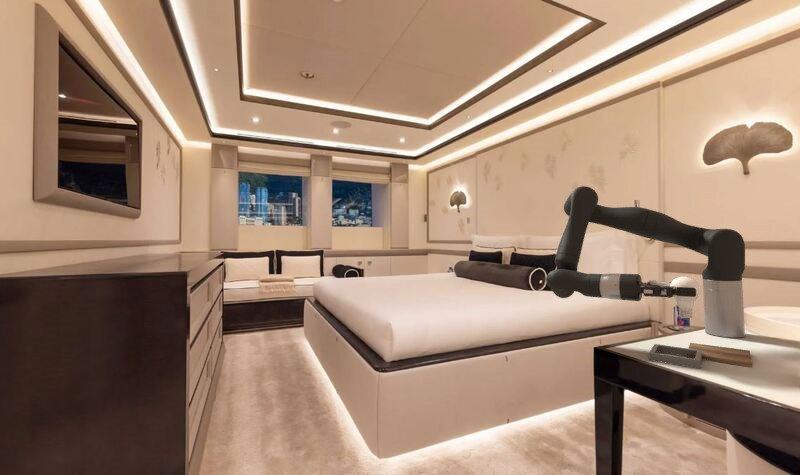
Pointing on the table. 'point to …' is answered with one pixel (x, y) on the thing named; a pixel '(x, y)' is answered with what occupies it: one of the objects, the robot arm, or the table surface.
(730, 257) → the robot arm
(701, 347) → the coaster
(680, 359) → the tray
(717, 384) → the table surface
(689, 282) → the lightbulb
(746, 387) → the table surface
